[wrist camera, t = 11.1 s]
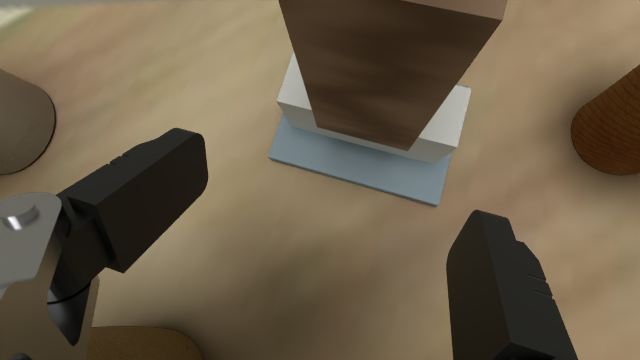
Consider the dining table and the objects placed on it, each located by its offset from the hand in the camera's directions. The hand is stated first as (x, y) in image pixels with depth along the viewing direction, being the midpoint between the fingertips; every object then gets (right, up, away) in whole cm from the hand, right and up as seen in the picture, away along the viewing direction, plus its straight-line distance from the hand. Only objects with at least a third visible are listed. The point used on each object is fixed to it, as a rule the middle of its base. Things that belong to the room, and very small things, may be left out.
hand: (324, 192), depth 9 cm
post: (+3, +6, +11) cm, 13 cm away
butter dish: (+4, +5, +17) cm, 18 cm away
